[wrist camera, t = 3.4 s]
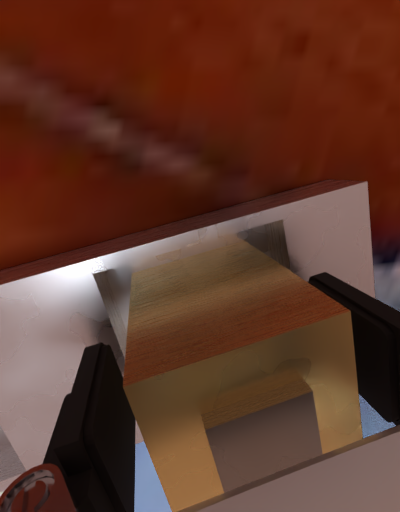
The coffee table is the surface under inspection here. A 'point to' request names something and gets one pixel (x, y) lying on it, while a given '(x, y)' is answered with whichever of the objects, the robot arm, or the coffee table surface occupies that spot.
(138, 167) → the coffee table surface
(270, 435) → the block
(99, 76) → the coffee table surface
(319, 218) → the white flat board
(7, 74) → the coffee table surface
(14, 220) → the coffee table surface
